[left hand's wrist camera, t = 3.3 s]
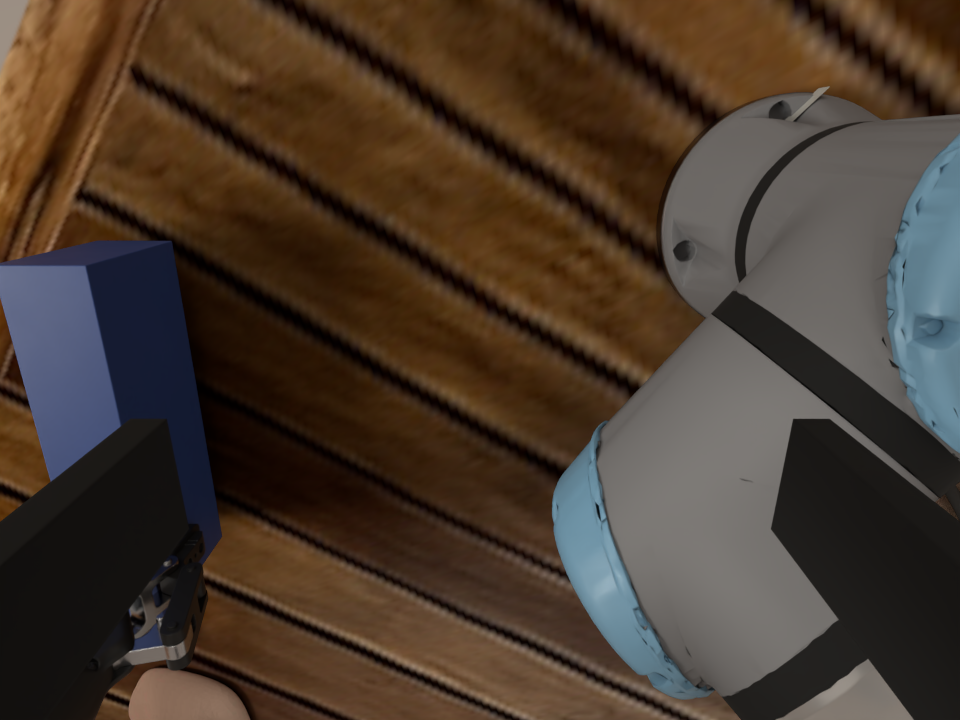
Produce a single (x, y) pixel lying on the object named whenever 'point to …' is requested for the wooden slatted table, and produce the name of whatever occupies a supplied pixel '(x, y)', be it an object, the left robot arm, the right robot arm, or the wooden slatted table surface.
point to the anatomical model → (183, 698)
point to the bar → (109, 357)
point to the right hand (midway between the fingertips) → (156, 534)
